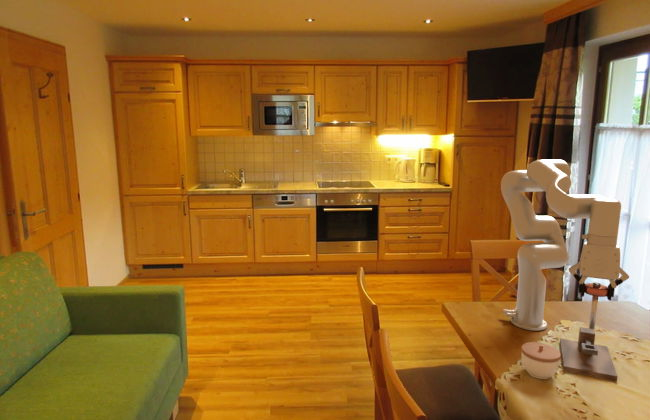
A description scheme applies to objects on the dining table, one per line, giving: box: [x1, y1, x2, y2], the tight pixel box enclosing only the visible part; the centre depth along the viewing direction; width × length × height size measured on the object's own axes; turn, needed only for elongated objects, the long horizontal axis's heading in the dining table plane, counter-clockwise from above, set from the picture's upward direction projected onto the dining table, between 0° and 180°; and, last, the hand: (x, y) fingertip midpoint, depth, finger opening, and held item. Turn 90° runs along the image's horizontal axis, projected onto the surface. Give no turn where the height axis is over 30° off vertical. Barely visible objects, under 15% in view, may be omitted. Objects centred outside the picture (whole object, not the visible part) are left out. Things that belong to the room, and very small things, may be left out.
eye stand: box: [559, 326, 619, 382], centre depth 143 cm, size 14×20×8 cm
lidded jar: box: [520, 341, 562, 380], centre depth 135 cm, size 11×11×9 cm
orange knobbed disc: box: [584, 282, 609, 330], centre depth 136 cm, size 6×6×14 cm
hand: (595, 296), depth 136 cm, fingers closed on orange knobbed disc, 6 cm apart
